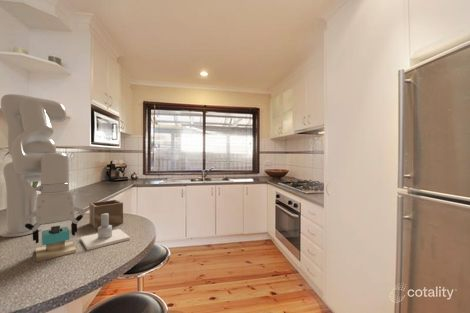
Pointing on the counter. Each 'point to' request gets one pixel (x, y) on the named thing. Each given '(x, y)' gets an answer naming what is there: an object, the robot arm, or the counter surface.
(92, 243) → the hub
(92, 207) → the tool caddy
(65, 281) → the counter surface
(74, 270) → the counter surface
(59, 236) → the teal square frame
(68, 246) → the stand
